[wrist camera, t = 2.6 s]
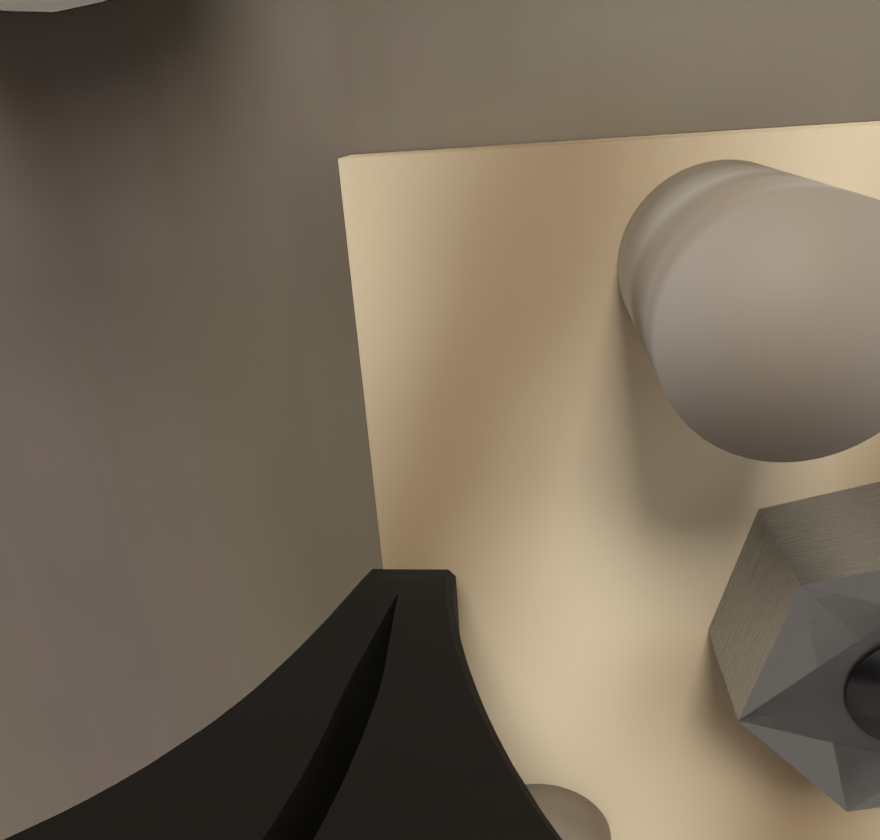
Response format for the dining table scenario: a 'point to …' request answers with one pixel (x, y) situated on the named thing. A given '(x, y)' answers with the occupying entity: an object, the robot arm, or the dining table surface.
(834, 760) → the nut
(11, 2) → the hook
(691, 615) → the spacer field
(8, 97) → the dining table surface
